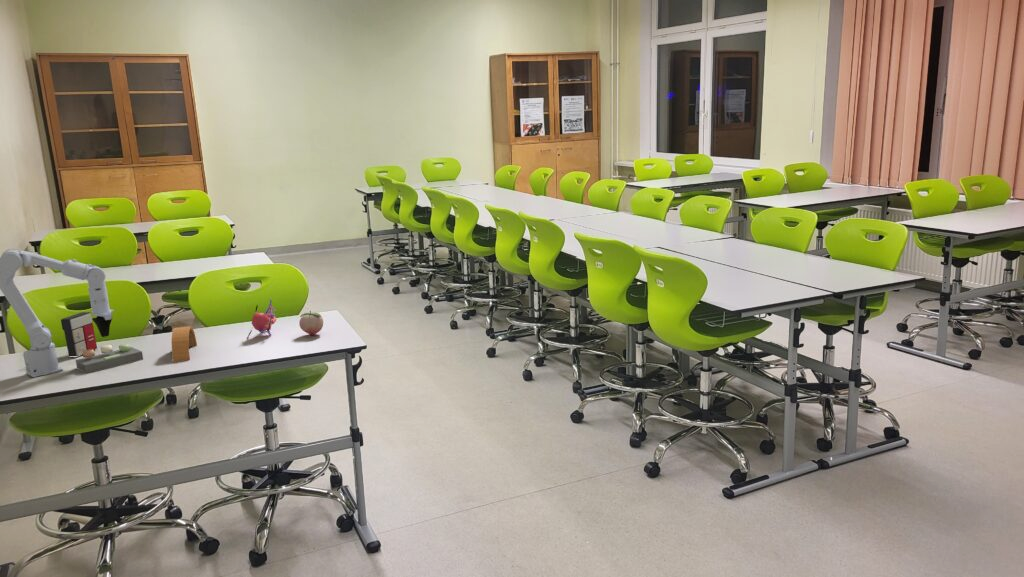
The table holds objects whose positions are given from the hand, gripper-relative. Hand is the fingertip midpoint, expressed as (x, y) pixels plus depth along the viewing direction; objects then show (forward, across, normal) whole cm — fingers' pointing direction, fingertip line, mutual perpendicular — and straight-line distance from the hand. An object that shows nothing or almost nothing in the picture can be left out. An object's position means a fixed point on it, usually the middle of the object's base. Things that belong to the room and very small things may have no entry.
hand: (105, 336), depth 268 cm
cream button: (+5, -3, +1) cm, 6 cm away
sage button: (+6, -3, -5) cm, 8 cm away
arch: (+9, -16, -21) cm, 28 cm away
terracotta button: (+5, -3, +7) cm, 9 cm away
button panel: (+9, -5, +1) cm, 10 cm away
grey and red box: (+10, +19, +3) cm, 22 cm away
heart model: (+9, -17, -52) cm, 55 cm away
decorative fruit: (+9, -36, -64) cm, 73 cm away
